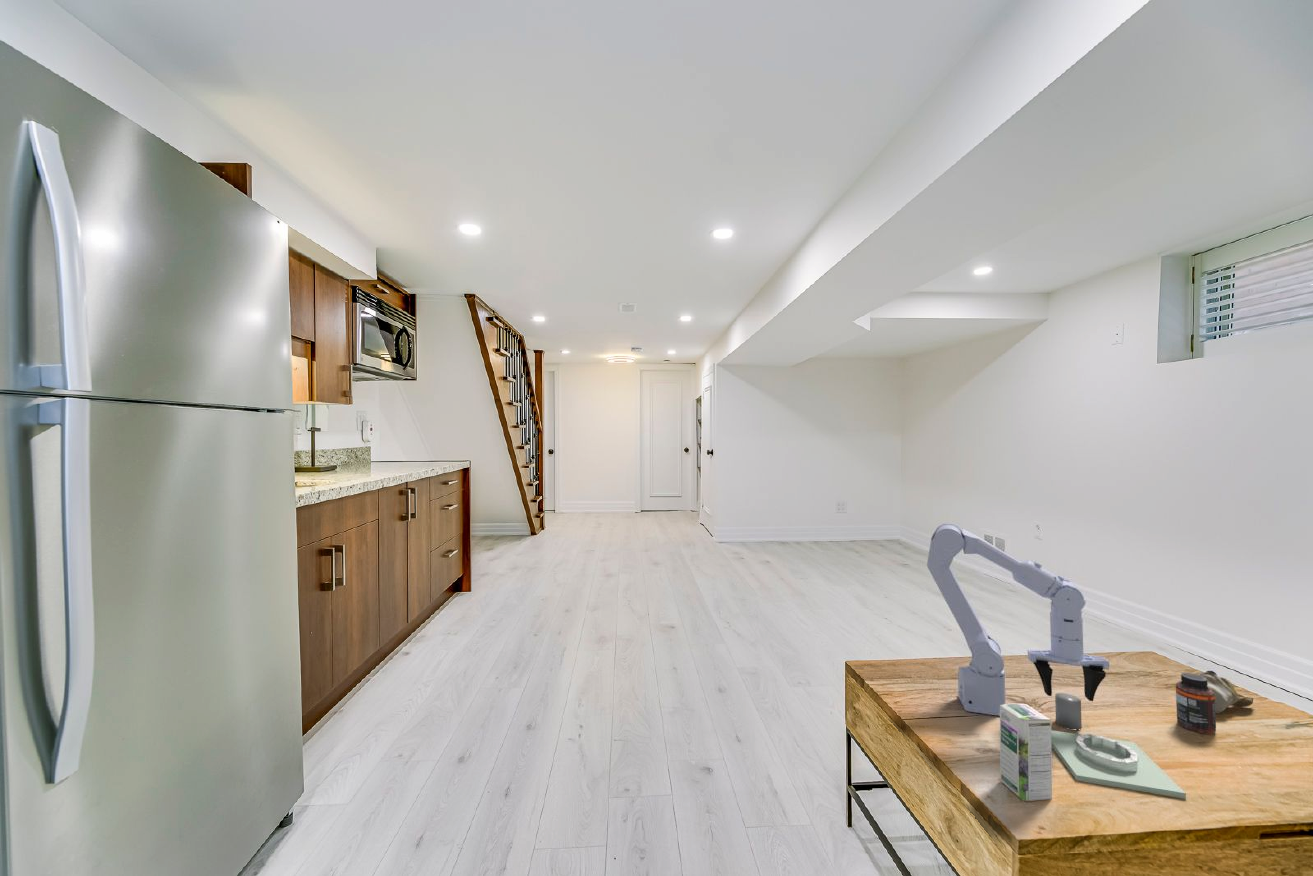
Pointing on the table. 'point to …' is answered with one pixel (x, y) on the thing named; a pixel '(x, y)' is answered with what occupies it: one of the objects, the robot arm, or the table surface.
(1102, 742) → the duct collar
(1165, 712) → the table surface
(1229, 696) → the ceramic sculpture
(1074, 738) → the plate
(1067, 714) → the grey rounded block
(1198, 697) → the supplement bottle
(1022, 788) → the syrup box
